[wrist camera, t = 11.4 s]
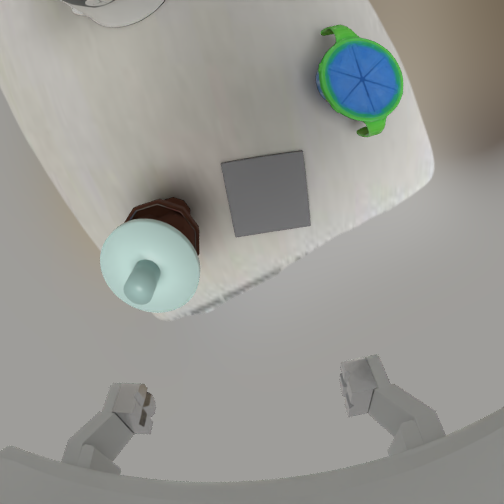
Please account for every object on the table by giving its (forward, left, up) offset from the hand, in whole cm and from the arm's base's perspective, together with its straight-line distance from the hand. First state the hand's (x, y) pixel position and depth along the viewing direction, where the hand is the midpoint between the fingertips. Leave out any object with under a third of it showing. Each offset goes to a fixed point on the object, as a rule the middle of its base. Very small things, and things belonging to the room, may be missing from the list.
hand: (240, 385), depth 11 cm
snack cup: (-11, +16, -37) cm, 42 cm away
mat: (+5, +3, -37) cm, 38 cm away
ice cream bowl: (+5, -12, -37) cm, 40 cm away
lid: (+6, -12, -22) cm, 26 cm away
